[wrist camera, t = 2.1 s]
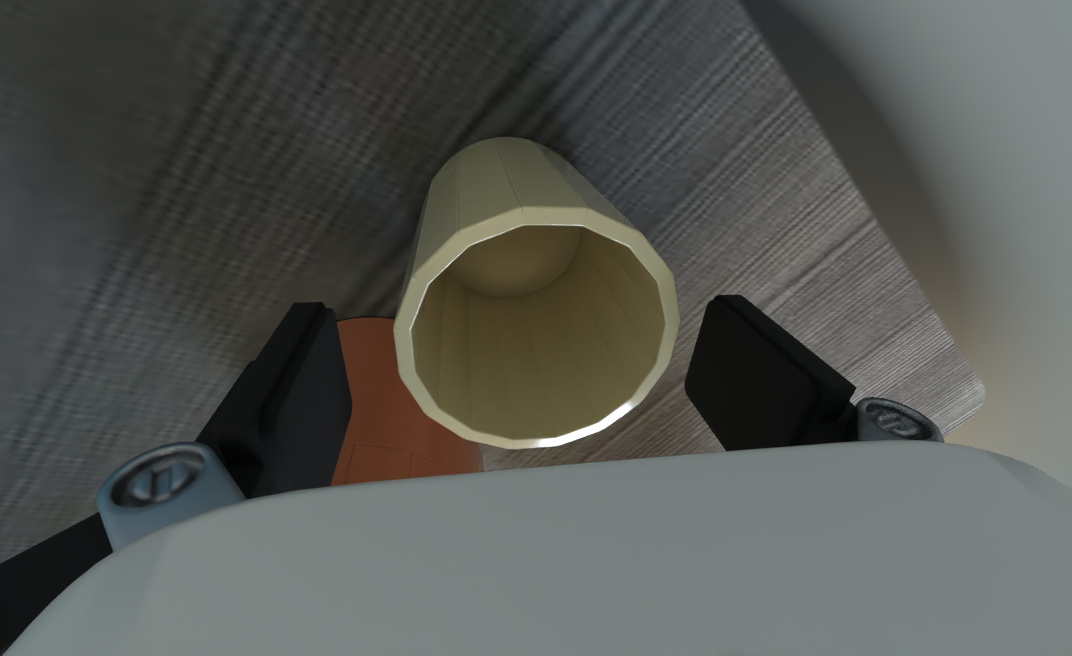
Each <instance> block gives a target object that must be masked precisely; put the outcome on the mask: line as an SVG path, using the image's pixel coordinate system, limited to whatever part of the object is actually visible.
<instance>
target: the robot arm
mask: <svg viewBox="0 0 1072 656" xmlns="http://www.w3.org/2000/svg"><path fill="white" fill-rule="evenodd" d="M855 389H856V387H855V386H854V385H853V384H851V383H850V382H849V381H848V380H846V379H845V378H844V377H843V376H842V375H840V374H839V373H838V372H837V371H835V370H834V369H833V368H832V367H830V366H829V365H828V364H827V363H825V362H824V361H823V360H822V359H820V358H819V357H818V356H817V355H815V354H814V353H813V352H812V351H810V350H809V349H808V348H807V347H805V346H804V345H803V344H802V343H800V342H799V341H798V340H797V339H795V338H794V337H793V336H792V335H790V334H789V333H788V332H787V331H785V330H784V329H783V328H782V327H780V326H779V325H778V324H777V323H775V322H774V321H773V320H772V319H770V318H769V317H768V316H767V315H765V314H764V313H763V312H762V311H760V310H759V309H758V308H757V307H755V306H754V305H753V304H752V303H750V302H749V301H748V300H747V299H746V298H744V297H743V296H741V295H718V296H716V297H715V298H714V299H713V301H710V302H709V303H708V305H707V307H706V311H705V314H704V318H703V321H702V324H701V328H700V331H699V335H698V338H697V342H696V345H695V348H694V352H693V355H692V359H691V362H690V365H689V369H688V372H687V376H686V379H685V392H686V394H687V396H688V397H689V399H690V400H691V402H692V403H693V405H694V406H695V407H696V409H697V410H698V412H699V413H700V414H701V416H702V417H703V419H704V420H705V422H706V423H707V424H708V426H709V427H710V429H711V430H712V432H713V433H714V434H715V436H716V437H717V439H718V440H719V441H720V443H721V444H722V446H723V447H724V449H725V450H726V451H725V452H713V453H701V454H689V455H677V456H665V457H653V458H641V459H629V460H617V461H605V462H593V463H581V464H569V465H557V466H545V467H533V468H521V469H509V470H498V471H486V472H475V473H464V474H453V475H441V476H430V477H419V478H407V479H396V480H385V481H373V482H364V483H356V484H347V485H339V486H330V485H331V482H332V479H333V475H334V472H335V469H336V465H337V462H338V458H339V455H340V452H341V448H342V445H343V442H344V438H345V435H346V431H347V428H348V425H349V421H350V418H351V414H352V397H351V392H350V387H349V382H348V377H347V372H346V367H345V362H344V357H343V352H342V347H341V342H340V337H339V332H338V327H337V322H336V316H335V312H334V310H333V309H332V308H326V307H325V305H324V304H323V303H322V302H306V303H294V304H293V305H292V307H291V308H290V309H289V311H288V312H287V314H286V315H285V317H284V318H283V320H282V321H281V323H280V324H279V326H278V327H277V329H276V330H275V332H274V333H273V335H272V336H271V338H270V339H269V340H268V342H267V343H266V345H265V346H264V348H263V349H262V351H261V352H260V354H259V355H258V357H257V358H256V360H254V361H251V362H250V363H249V364H248V365H247V366H246V368H245V369H244V371H243V372H242V374H241V375H240V377H239V378H238V379H237V381H236V382H235V384H234V385H233V387H232V388H231V390H230V391H229V392H228V394H227V395H226V397H225V398H224V400H223V401H222V403H221V404H220V405H219V407H218V408H217V410H216V411H215V413H214V414H213V416H212V417H211V418H210V420H209V421H208V423H207V424H206V426H205V427H204V429H203V430H202V431H201V433H200V434H199V436H198V437H197V439H196V440H195V442H177V443H172V444H167V445H163V446H160V447H157V448H154V449H152V450H149V451H146V452H144V453H142V454H140V455H138V456H136V457H134V458H133V459H131V460H129V461H128V462H126V463H125V464H123V465H122V466H121V467H119V468H118V469H116V470H115V471H114V472H113V473H112V474H111V475H110V476H109V477H108V478H107V479H106V480H105V481H104V482H103V484H102V486H101V488H100V490H99V492H98V493H97V507H98V510H99V512H98V513H96V514H94V515H92V516H91V517H89V518H87V519H85V520H83V521H81V522H79V523H77V524H75V525H73V526H71V527H70V528H68V529H66V530H64V531H62V532H60V533H58V534H56V535H54V536H52V537H50V538H49V539H47V540H45V541H43V542H41V543H39V544H37V545H35V546H33V547H31V548H29V549H28V550H26V551H24V552H22V553H20V554H18V555H16V556H14V557H12V558H10V559H9V560H7V561H5V562H3V563H1V564H0V656H1072V489H1070V488H1069V487H1067V486H1066V485H1064V484H1063V483H1061V482H1059V481H1058V480H1056V479H1055V478H1053V477H1051V476H1050V475H1048V474H1046V473H1044V472H1043V471H1041V470H1039V469H1037V468H1035V467H1033V466H1031V465H1029V464H1027V463H1024V462H1022V461H1019V460H1016V459H1013V458H1011V457H1007V456H1004V455H1000V454H997V453H993V452H990V451H986V450H982V449H977V448H973V447H968V446H963V445H957V444H950V443H945V442H944V439H943V436H942V434H941V432H940V430H939V428H938V427H937V426H936V425H935V424H934V423H933V422H932V421H931V420H930V419H928V418H927V417H925V416H924V415H923V414H921V413H920V412H918V411H916V410H914V409H912V408H910V407H908V406H906V405H903V404H901V403H898V402H895V401H892V400H888V399H884V398H875V397H869V398H863V399H862V400H860V401H858V403H857V405H856V407H855V406H854V405H853V404H852V403H851V402H849V400H850V398H851V397H852V395H853V393H854V391H855Z"/></svg>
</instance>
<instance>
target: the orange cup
mask: <svg viewBox="0 0 1072 656" xmlns="http://www.w3.org/2000/svg"><path fill="white" fill-rule="evenodd" d="M393 323H394V319H389V318H374V317H367V318H354V319H349V320H343V321H339V322H337V327H338V332H339V337H340V342H341V347H342V352H343V357H344V362H345V367H346V372H347V377H348V382H349V387H350V392H351V397H352V414H351V418H350V421H349V425H348V428H347V431H346V435H345V438H344V442H343V445H342V448H341V452H340V455H339V458H338V462H337V465H336V469H335V472H334V475H333V479H332V482H331V485H330V486H339V485H347V484H356V483H364V482H373V481H385V480H396V479H407V478H419V477H430V476H441V475H453V474H464V473H475V472H484V464H483V447H482V443H479V442H475V441H470V440H466V439H465V438H462V437H460V436H459V435H457V434H455V433H454V432H452V431H451V430H449V429H447V428H446V427H444V426H443V425H441V424H440V423H438V422H436V421H435V420H433V419H432V418H430V417H428V416H427V415H426V414H425V413H424V412H423V410H422V409H421V407H420V406H419V405H418V403H417V402H416V400H415V399H414V397H413V396H412V394H411V393H410V391H409V390H408V388H407V387H406V386H405V384H404V383H403V381H402V380H401V378H400V375H399V374H398V366H397V358H396V351H395V343H394V335H393Z"/></svg>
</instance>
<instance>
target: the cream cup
mask: <svg viewBox="0 0 1072 656" xmlns="http://www.w3.org/2000/svg"><path fill="white" fill-rule="evenodd" d="M680 323H681V316H680V310H679V305H678V299H677V293H676V288H675V282H674V276H673V274H672V271H671V270H670V269H669V267H668V266H667V265H666V263H665V262H664V261H663V260H662V258H661V257H660V256H659V254H658V253H657V252H656V251H655V249H654V248H653V247H652V245H651V244H650V243H649V242H648V240H647V239H646V238H645V236H644V235H643V234H642V233H641V232H640V231H639V230H638V229H637V228H636V227H635V226H634V225H633V224H632V223H631V222H630V221H629V220H628V219H627V218H626V217H625V216H624V215H623V214H621V213H620V212H619V211H618V210H617V209H616V208H615V207H614V206H613V205H612V204H611V203H610V202H609V201H608V200H607V199H606V198H605V197H604V196H603V195H602V194H601V193H600V192H599V191H598V190H597V189H596V188H595V187H594V186H593V185H592V184H591V183H589V182H588V181H587V180H586V179H585V178H584V177H583V176H582V175H581V174H580V173H579V172H578V171H577V170H576V169H575V168H574V167H573V166H572V165H571V164H570V163H569V162H568V161H567V160H566V159H565V158H564V157H562V156H561V155H559V154H557V153H555V152H554V151H552V150H551V149H549V148H547V147H546V146H544V145H541V144H539V143H537V142H534V141H531V140H527V139H523V138H516V137H496V138H490V139H485V140H482V141H479V142H476V143H474V144H471V145H469V146H467V147H465V148H464V149H462V150H461V151H459V152H458V153H456V154H455V155H453V156H452V157H451V158H450V159H449V160H448V161H447V162H446V163H445V164H444V165H443V166H442V167H441V169H440V170H439V171H438V172H437V174H436V176H435V177H434V178H433V180H432V182H431V184H430V187H429V189H428V191H427V195H426V198H425V201H424V204H423V207H422V210H421V213H420V217H419V221H418V225H417V229H416V233H415V237H414V241H413V245H412V250H411V254H410V258H409V262H408V266H407V270H406V274H405V278H404V282H403V286H402V290H401V295H400V299H399V303H398V307H397V311H396V315H395V319H394V323H393V335H394V343H395V351H396V358H397V366H398V374H399V375H400V378H401V380H402V381H403V383H404V384H405V386H406V387H407V388H408V390H409V391H410V393H411V394H412V396H413V397H414V399H415V400H416V402H417V403H418V405H419V406H420V407H421V409H422V410H423V412H424V413H425V414H426V415H427V416H428V417H430V418H432V419H433V420H435V421H436V422H438V423H440V424H441V425H443V426H444V427H446V428H447V429H449V430H451V431H452V432H454V433H455V434H457V435H459V436H460V437H462V438H465V439H466V440H470V441H475V442H479V443H484V444H488V445H492V446H497V447H501V448H506V449H526V448H540V447H554V446H557V445H558V446H560V445H563V444H565V443H568V442H571V441H574V440H577V439H580V438H582V437H585V436H588V435H591V434H594V433H596V432H599V431H601V430H602V429H605V428H607V427H608V426H609V425H611V424H612V423H614V422H615V421H616V420H618V419H619V418H620V417H622V416H623V415H625V414H626V413H627V412H629V411H630V410H632V409H633V408H634V407H636V406H637V405H639V404H640V402H642V401H643V400H644V398H645V397H646V395H647V394H648V393H649V391H650V390H651V389H652V387H653V386H654V385H655V383H656V382H657V381H658V379H659V378H660V377H661V375H662V374H663V373H664V371H665V370H666V369H667V367H668V365H669V363H670V360H671V356H672V352H673V349H674V345H675V342H676V338H677V334H678V331H679V327H680Z"/></svg>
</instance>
